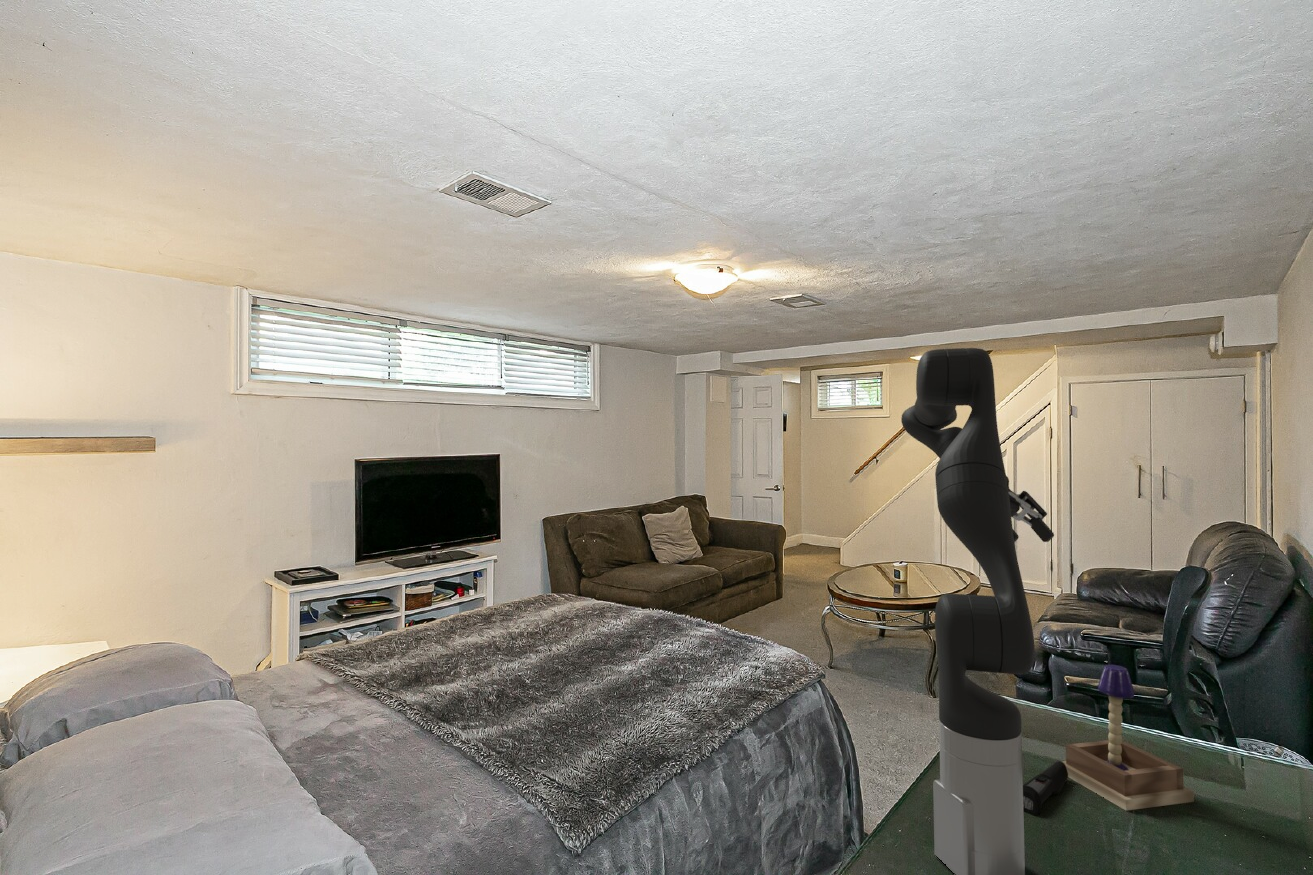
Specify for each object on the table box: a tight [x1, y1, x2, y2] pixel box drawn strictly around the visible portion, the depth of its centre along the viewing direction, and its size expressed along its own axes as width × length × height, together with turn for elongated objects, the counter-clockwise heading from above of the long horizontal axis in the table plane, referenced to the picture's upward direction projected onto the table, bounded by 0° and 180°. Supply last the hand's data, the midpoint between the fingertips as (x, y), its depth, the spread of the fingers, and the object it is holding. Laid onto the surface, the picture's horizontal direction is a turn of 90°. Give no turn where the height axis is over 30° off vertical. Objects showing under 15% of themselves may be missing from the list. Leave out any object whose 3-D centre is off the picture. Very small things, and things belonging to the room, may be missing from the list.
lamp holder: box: [1060, 739, 1195, 811], centre depth 99 cm, size 12×12×4 cm
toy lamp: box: [1097, 664, 1135, 771], centre depth 99 cm, size 5×5×17 cm
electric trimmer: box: [1023, 760, 1069, 816], centre depth 97 cm, size 4×16×3 cm, turn 130°
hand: (1032, 540), depth 111 cm, fingers open, 8 cm apart
